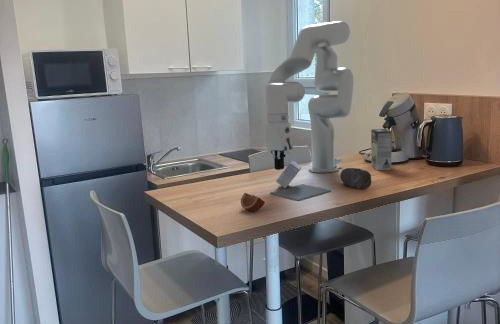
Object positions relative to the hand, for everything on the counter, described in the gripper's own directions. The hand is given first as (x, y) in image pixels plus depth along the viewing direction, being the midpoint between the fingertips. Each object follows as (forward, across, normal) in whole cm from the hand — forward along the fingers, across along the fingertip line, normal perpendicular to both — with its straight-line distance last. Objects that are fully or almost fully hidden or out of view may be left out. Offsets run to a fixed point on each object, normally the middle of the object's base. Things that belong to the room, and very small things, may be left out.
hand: (279, 169), depth 157 cm
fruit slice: (+7, -14, +24) cm, 29 cm away
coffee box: (+7, -8, -50) cm, 51 cm away
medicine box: (+6, 0, 0) cm, 6 cm away
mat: (+7, -10, 0) cm, 13 cm away
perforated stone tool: (+7, -19, -18) cm, 27 cm away
